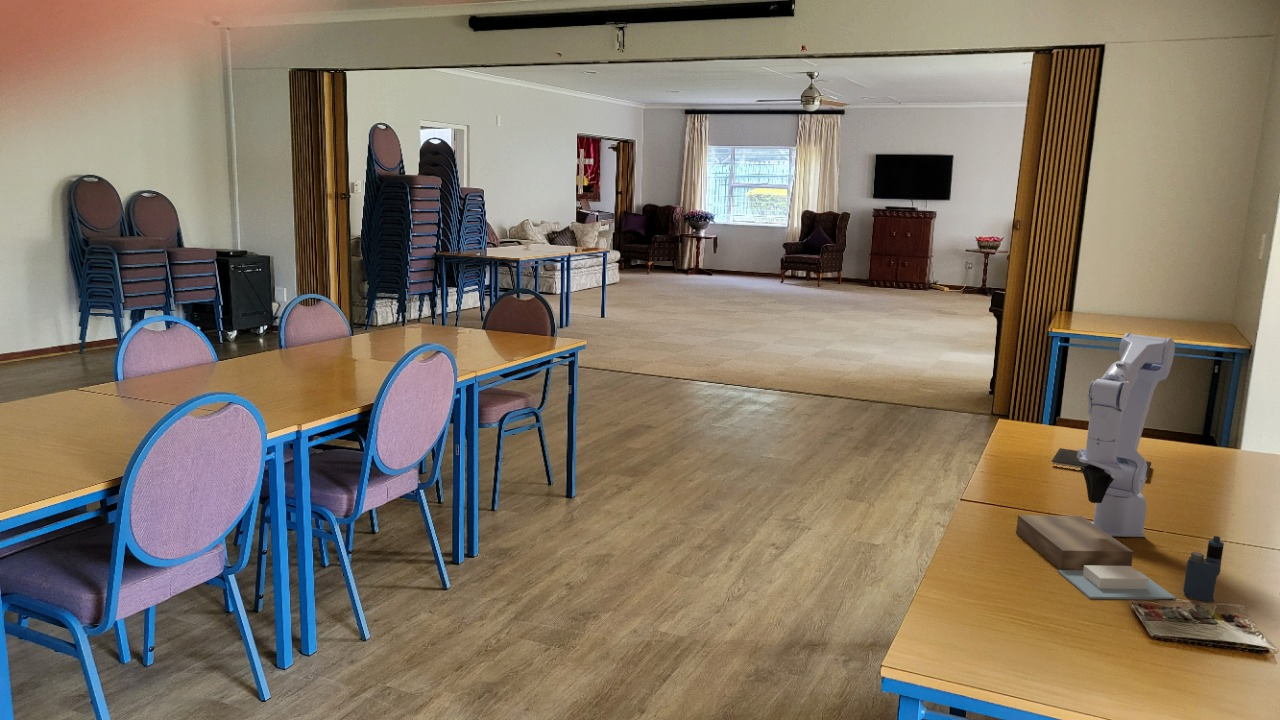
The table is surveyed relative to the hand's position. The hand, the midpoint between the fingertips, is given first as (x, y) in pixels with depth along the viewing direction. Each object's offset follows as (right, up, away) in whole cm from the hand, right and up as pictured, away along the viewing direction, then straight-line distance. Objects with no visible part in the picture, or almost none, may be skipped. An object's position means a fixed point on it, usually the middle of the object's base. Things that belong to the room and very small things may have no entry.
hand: (1095, 501), depth 193 cm
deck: (-5, -10, 0) cm, 11 cm away
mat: (-5, -13, -17) cm, 22 cm away
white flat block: (-4, -11, -17) cm, 20 cm away
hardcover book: (+31, -1, +61) cm, 69 cm away
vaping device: (+9, -15, -21) cm, 27 cm away
